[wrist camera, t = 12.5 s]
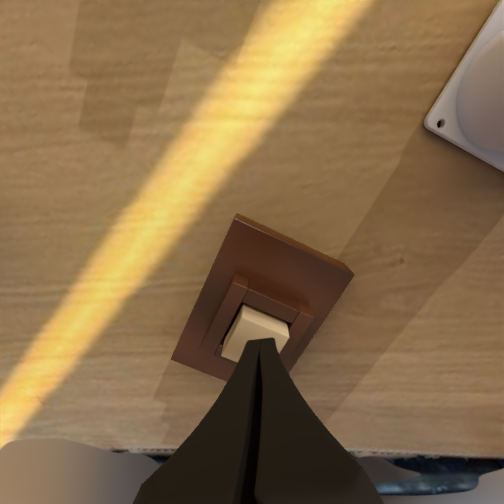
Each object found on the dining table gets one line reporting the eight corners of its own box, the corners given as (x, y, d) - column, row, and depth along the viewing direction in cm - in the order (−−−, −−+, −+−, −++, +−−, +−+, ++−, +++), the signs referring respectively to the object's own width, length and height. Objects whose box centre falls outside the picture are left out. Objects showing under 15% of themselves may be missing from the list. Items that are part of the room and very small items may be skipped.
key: (243, 303, 17) (241, 317, 16) (287, 321, 18) (289, 337, 16) (224, 339, 18) (220, 356, 17) (265, 356, 19) (266, 374, 17)
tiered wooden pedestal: (236, 212, 19) (231, 222, 15) (345, 263, 20) (365, 285, 16) (178, 342, 23) (162, 376, 19) (270, 379, 24) (272, 418, 20)
